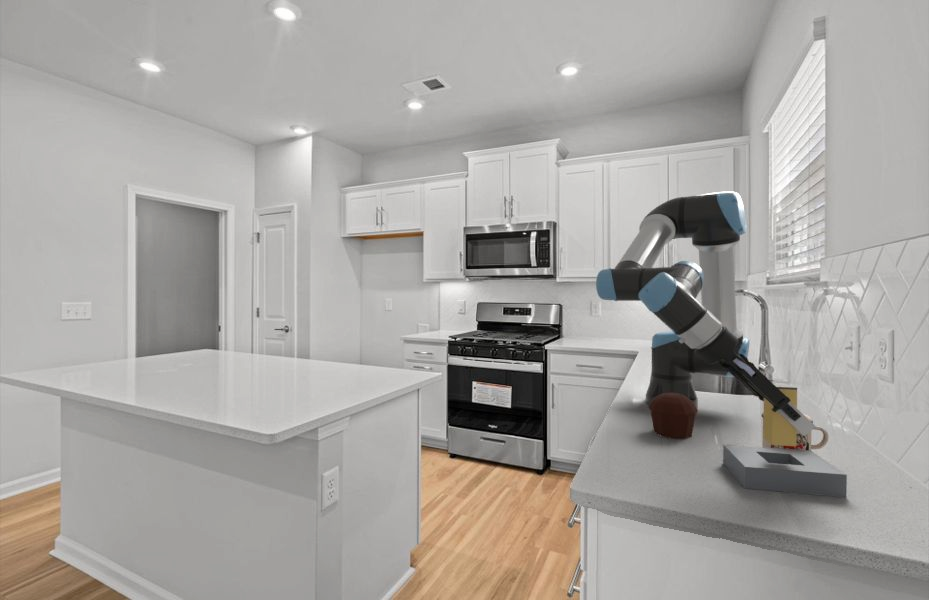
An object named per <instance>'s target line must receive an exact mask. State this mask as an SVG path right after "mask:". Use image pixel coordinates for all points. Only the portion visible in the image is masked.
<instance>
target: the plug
mask: <svg viewBox="0 0 929 600" xmlns="http://www.w3.org/2000/svg"><path fill="white" fill-rule="evenodd" d="M772 383H773V384H774V385H775V386H776V387H777V388H778V389H779V390H780V391H781V392H782V393H783V394H784V395H785V396H787V397H788V398H789V399H790V400H791V401H790V403H792V404H793V405H794V406H795V407H796V408H797V409H798V387H796V386H794V385H792V384H789V383H787V382H786V383H785V382H772ZM773 408H774V406H773V405H772V404H771V403H769V402H768V401H767V400H766V399H765V398H764V401H763V412H764V416H763V417H762V439H763V438H764V439H765V440H767V441H768V442H769V443H771V444H772V445H783V446H796V436H797V430H796V429H795V428H794V427H793V426H792V425H791V424H790V423H789V422H788V421H787V420H786V419H785V418H784V417H783V416H782V415H781V414H779V413H778V412H777V411H776V412H773V411H772V410H771V409H773Z"/></svg>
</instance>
